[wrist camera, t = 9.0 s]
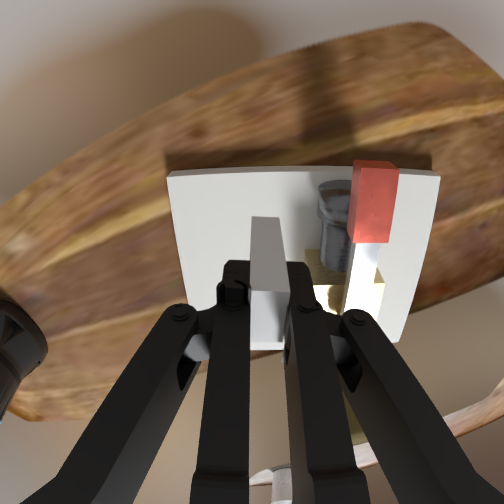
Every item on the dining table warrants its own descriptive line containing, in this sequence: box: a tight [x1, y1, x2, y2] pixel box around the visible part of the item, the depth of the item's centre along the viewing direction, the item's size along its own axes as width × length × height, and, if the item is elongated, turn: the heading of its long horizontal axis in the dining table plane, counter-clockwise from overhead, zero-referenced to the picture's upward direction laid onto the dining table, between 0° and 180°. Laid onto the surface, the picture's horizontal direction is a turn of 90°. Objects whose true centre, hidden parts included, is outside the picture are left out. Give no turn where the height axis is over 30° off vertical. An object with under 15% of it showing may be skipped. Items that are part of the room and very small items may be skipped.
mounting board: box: [167, 166, 440, 350], centre depth 37 cm, size 28×24×2 cm
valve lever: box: [340, 159, 400, 315], centre depth 25 cm, size 17×3×2 cm, turn 2°
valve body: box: [304, 180, 385, 321], centre depth 33 cm, size 7×22×8 cm, turn 2°
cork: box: [342, 391, 367, 443], centre depth 45 cm, size 6×6×11 cm
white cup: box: [271, 468, 292, 504], centre depth 68 cm, size 8×8×10 cm
